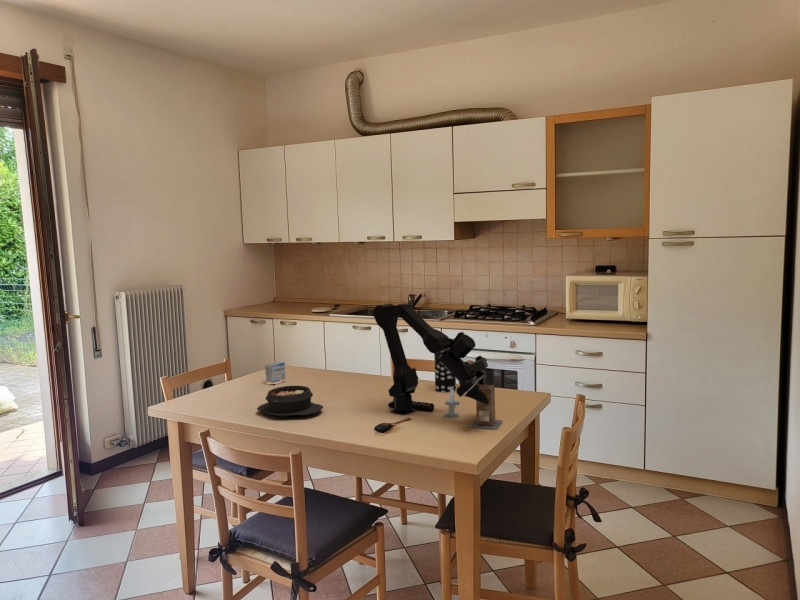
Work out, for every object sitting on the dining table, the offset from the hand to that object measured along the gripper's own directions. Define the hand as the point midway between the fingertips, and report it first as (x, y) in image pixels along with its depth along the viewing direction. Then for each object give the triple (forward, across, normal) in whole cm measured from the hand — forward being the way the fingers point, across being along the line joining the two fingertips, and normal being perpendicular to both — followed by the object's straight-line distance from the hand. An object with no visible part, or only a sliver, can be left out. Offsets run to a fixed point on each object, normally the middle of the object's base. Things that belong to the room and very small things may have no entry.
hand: (489, 400), depth 195 cm
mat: (+5, 0, +7) cm, 8 cm away
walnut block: (+4, 0, +6) cm, 7 cm away
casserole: (-45, -4, +57) cm, 73 cm away
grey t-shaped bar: (-6, +13, +18) cm, 23 cm away
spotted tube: (-13, +39, +25) cm, 48 cm away
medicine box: (-67, +34, +79) cm, 109 cm away
